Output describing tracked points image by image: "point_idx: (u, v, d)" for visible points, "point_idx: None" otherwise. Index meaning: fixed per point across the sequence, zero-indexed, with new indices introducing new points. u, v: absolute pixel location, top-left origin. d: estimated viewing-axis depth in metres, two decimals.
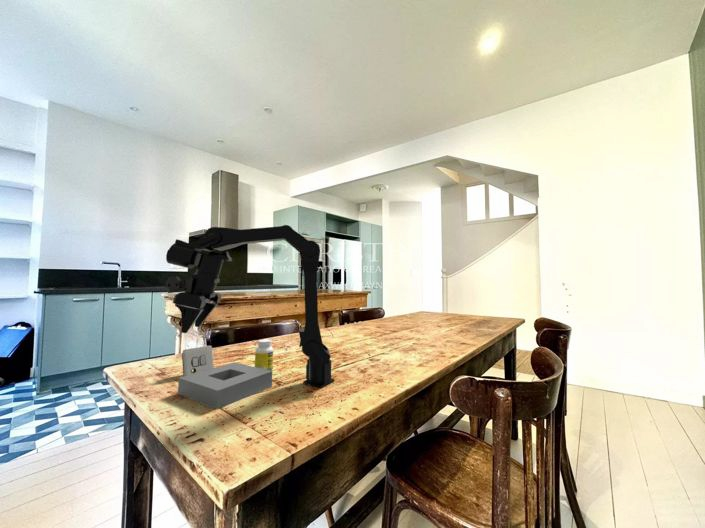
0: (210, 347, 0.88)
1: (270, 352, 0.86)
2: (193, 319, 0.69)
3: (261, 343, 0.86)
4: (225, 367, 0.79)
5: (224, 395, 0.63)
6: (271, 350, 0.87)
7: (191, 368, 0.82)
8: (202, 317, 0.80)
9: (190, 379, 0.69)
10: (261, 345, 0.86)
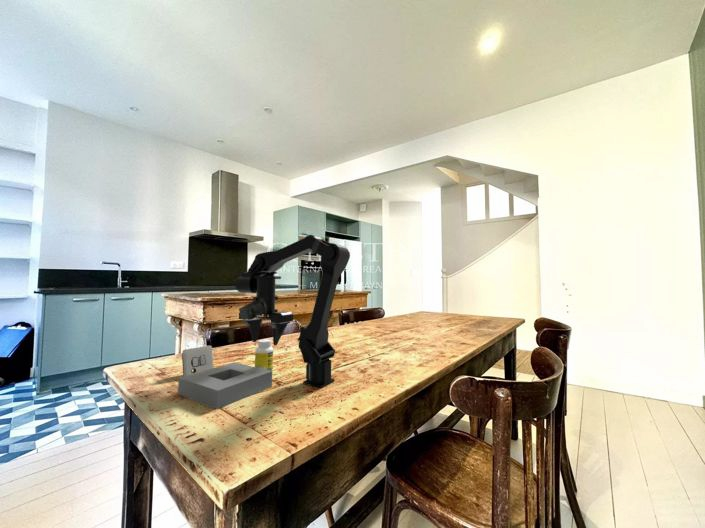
0: (210, 347, 0.88)
1: (270, 352, 0.86)
2: (282, 331, 0.86)
3: (261, 343, 0.86)
4: (225, 367, 0.79)
5: (224, 395, 0.63)
6: (271, 350, 0.87)
7: (191, 368, 0.82)
8: (256, 332, 0.91)
9: (190, 379, 0.69)
10: (261, 345, 0.86)
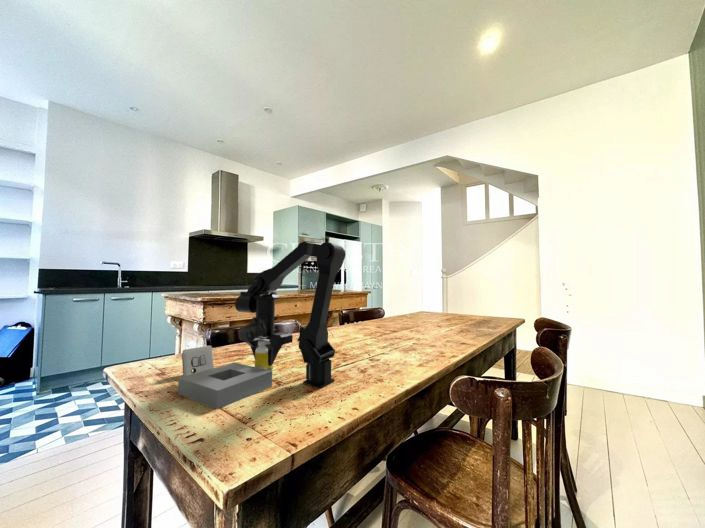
0: (210, 347, 0.88)
1: None
2: (277, 351, 0.87)
3: (261, 343, 0.86)
4: (225, 367, 0.79)
5: (224, 395, 0.63)
6: None
7: (191, 368, 0.82)
8: None
9: (190, 379, 0.69)
10: (261, 345, 0.86)
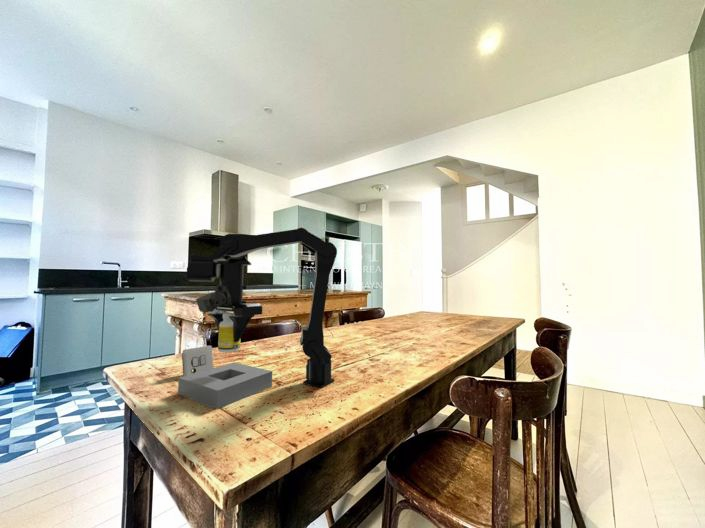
0: (210, 347, 0.88)
1: None
2: (245, 326, 0.74)
3: (226, 315, 0.73)
4: (225, 367, 0.79)
5: (224, 395, 0.63)
6: None
7: (191, 368, 0.82)
8: None
9: (190, 379, 0.69)
10: (225, 318, 0.73)
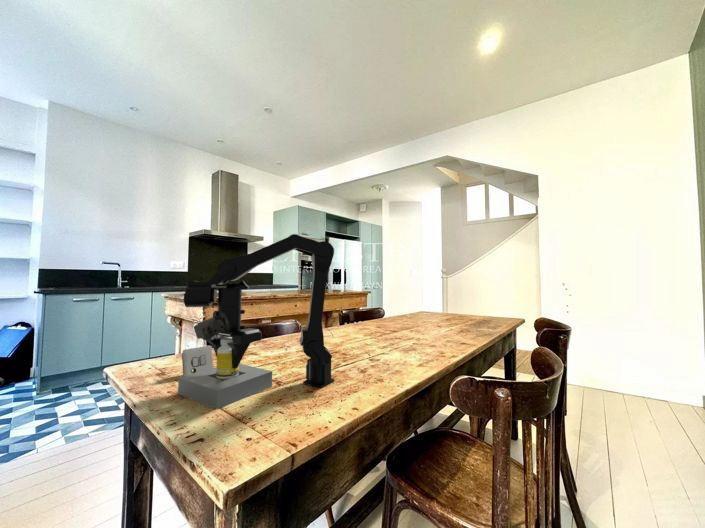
0: (210, 347, 0.88)
1: None
2: (244, 351, 0.73)
3: (224, 341, 0.72)
4: None
5: (224, 395, 0.63)
6: None
7: (191, 368, 0.82)
8: None
9: (190, 379, 0.69)
10: (223, 344, 0.72)
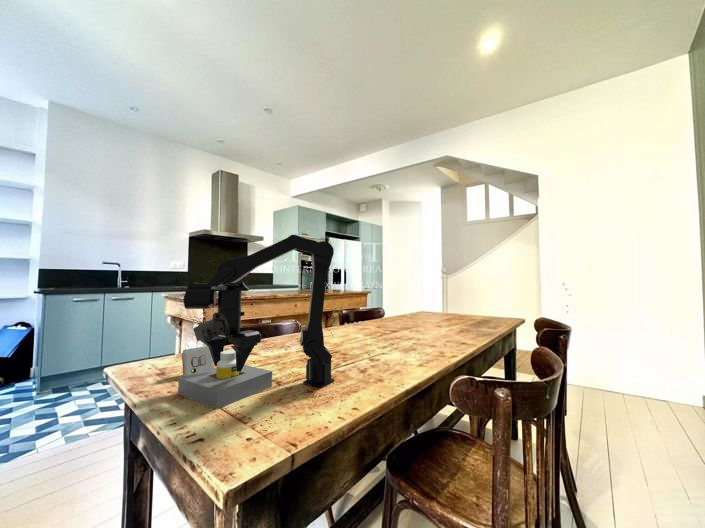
0: None
1: (234, 365, 0.72)
2: (248, 354, 0.72)
3: (223, 355, 0.71)
4: None
5: (224, 395, 0.63)
6: None
7: (191, 368, 0.82)
8: (219, 354, 0.76)
9: (190, 379, 0.69)
10: (223, 358, 0.71)
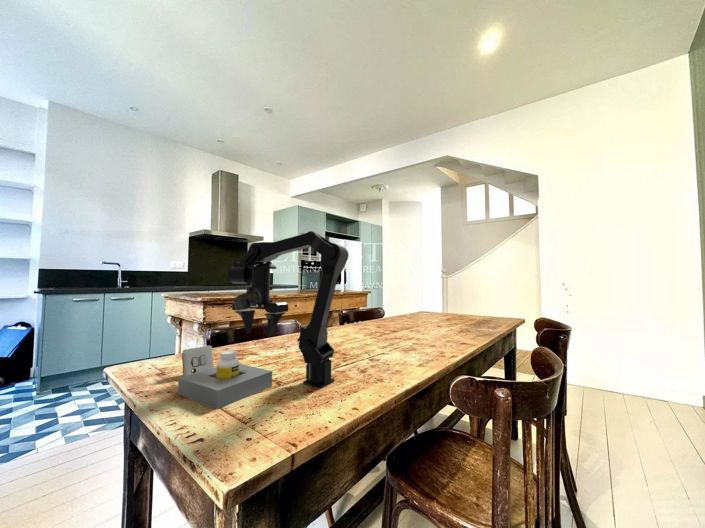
0: (210, 347, 0.88)
1: (234, 365, 0.72)
2: (277, 322, 0.85)
3: (223, 355, 0.71)
4: None
5: (224, 395, 0.63)
6: (236, 364, 0.72)
7: (191, 368, 0.82)
8: (250, 323, 0.89)
9: (190, 379, 0.69)
10: (223, 358, 0.71)
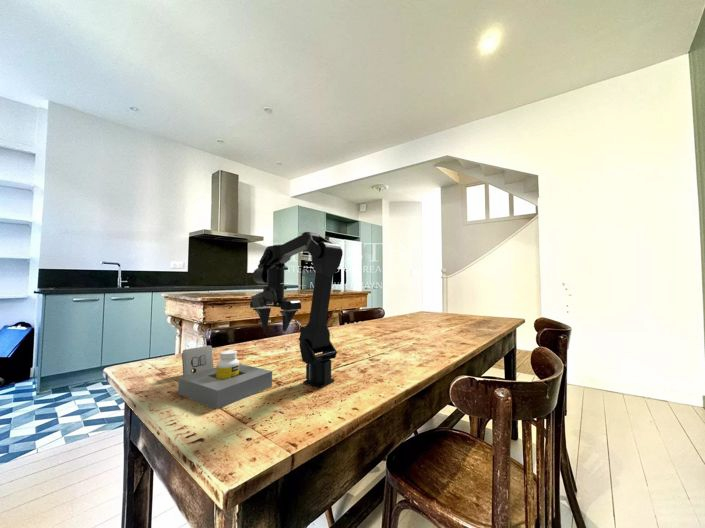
0: (210, 347, 0.88)
1: (234, 365, 0.72)
2: (291, 318, 0.93)
3: (223, 355, 0.71)
4: None
5: (224, 395, 0.63)
6: (236, 364, 0.72)
7: (191, 368, 0.82)
8: (266, 320, 0.97)
9: (190, 379, 0.69)
10: (223, 358, 0.71)
